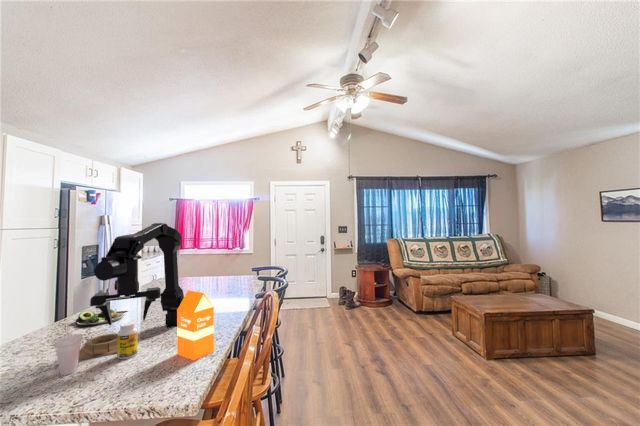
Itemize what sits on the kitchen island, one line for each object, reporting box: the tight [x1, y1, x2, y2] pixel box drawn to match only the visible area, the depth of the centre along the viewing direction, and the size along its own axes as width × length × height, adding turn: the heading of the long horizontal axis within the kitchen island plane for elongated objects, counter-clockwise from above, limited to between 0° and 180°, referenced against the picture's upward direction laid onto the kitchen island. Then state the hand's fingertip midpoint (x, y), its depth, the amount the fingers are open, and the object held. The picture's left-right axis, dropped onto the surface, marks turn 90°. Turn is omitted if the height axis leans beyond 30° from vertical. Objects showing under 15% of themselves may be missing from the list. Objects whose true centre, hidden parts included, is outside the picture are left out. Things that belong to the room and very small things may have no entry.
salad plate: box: [75, 309, 129, 328], centre depth 134 cm, size 19×18×5 cm
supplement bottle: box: [116, 321, 139, 360], centre depth 96 cm, size 6×6×10 cm
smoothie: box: [53, 322, 84, 376], centre depth 86 cm, size 6×6×14 cm
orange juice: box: [176, 289, 215, 361], centre depth 98 cm, size 8×9×20 cm
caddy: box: [78, 332, 117, 361], centre depth 101 cm, size 14×12×4 cm
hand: (127, 322), depth 96 cm, fingers open, 9 cm apart
